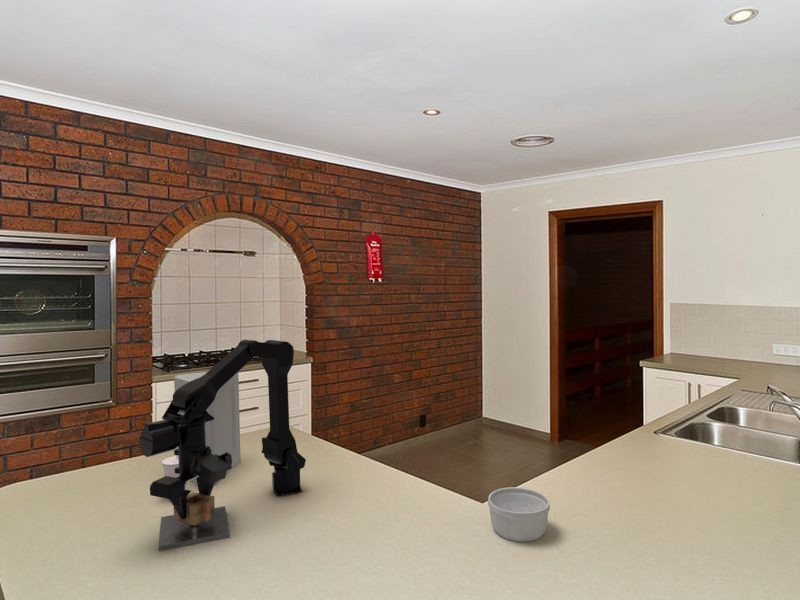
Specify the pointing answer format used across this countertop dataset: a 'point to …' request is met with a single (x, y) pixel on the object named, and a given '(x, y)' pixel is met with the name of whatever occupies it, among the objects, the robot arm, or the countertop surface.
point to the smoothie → (171, 466)
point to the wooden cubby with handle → (197, 509)
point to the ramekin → (519, 513)
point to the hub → (192, 530)
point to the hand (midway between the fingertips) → (194, 512)
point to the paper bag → (220, 419)
